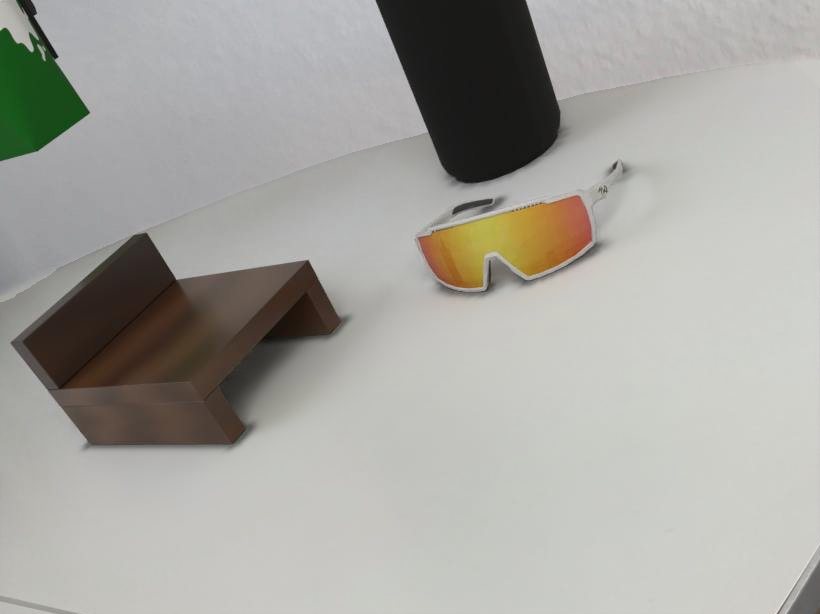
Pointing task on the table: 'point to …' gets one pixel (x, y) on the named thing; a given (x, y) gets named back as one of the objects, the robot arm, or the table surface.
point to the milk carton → (31, 88)
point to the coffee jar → (476, 82)
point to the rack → (164, 343)
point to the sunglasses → (512, 236)
